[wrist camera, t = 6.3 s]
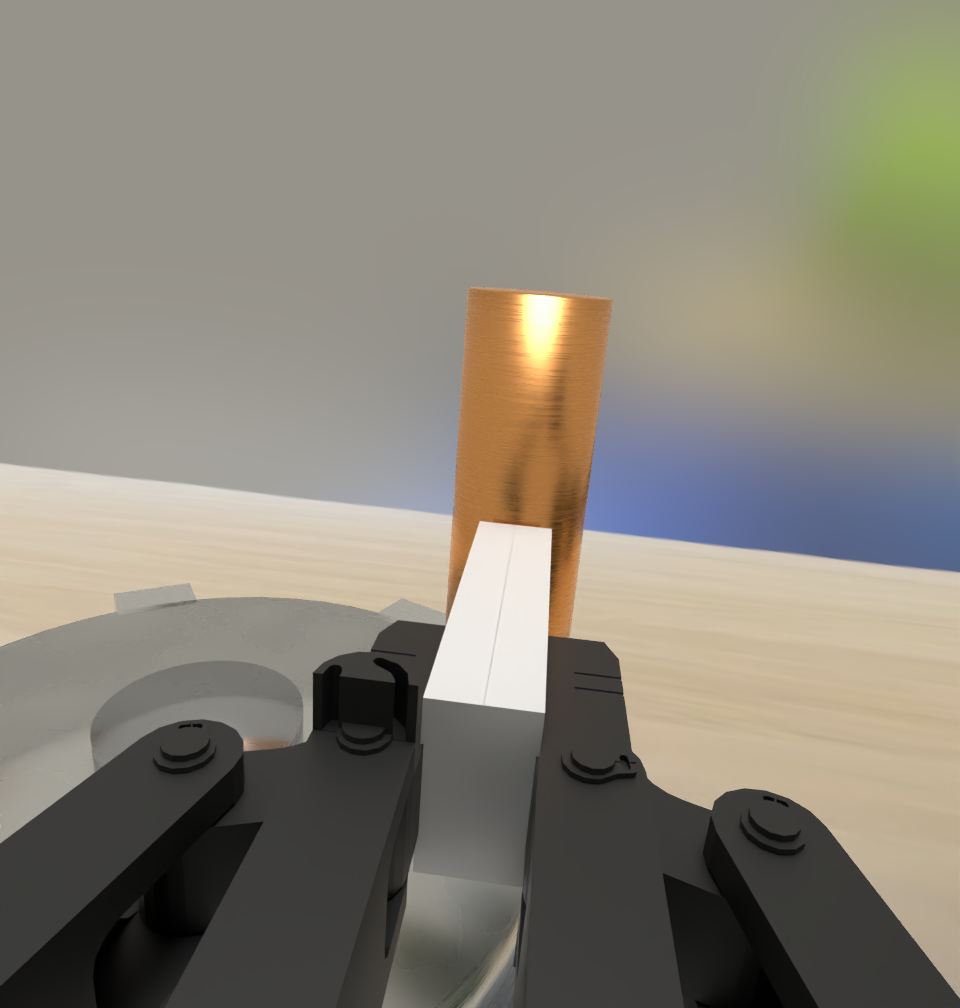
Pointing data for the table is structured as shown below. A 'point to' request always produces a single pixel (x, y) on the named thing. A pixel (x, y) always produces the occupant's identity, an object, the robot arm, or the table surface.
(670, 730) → the table surface
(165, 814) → the robot arm
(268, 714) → the lugged metal dome
